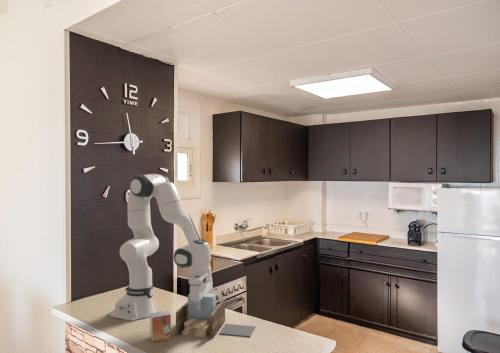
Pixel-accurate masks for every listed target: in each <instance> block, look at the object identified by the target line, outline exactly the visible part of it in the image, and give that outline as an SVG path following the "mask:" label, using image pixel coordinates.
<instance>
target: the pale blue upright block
mask: <svg viewBox="0 0 500 353" xmlns="http://www.w3.org/2000/svg"><path fill="white" fill-rule="evenodd" d="M187 301H188V319H190V318H193V319H199V320H205V321H208V323H210V315H211V313H212V312H213V311H214V310H215V309H216V306H217V293H210V292H209V293H207V294H206V295H205V296H204V297H203V298H202V299H201V302H200V304H201V309H200V310H197V306H196V303H195V302H191V299H190V293H189V294H188V295H187Z"/></svg>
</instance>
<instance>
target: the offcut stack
mask: <svg viewBox="0 0 500 353" xmlns="http://www.w3.org/2000/svg"><path fill="white" fill-rule="evenodd" d="M184 326H185V329H184V330H183V331H182V335H183V336H191V337H199V338H207V336H209V335H210V334H211V329H210V323H208V321H205V320H199V319H193V318H190V319H188V320H187V321H185V322H184Z"/></svg>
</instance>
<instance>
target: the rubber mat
mask: <svg viewBox="0 0 500 353" xmlns="http://www.w3.org/2000/svg"><path fill="white" fill-rule="evenodd" d="M255 328H256V326H255V325H246V324H245V325H244V324H243V325H242V324H233V323H231V324H230V323H224V324H223V326H222V327H221V330H219V332H218V335H223V336H234V337H244V338H251V336H252V334H253V332H254V330H255Z"/></svg>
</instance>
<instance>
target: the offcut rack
mask: <svg viewBox="0 0 500 353" xmlns="http://www.w3.org/2000/svg"><path fill="white" fill-rule="evenodd" d="M187 320H188V300H187V301H186V302H185V303H184V304H183V305H182V306H181V307H179V309H177V310H176V312H175V335H176V336H179V335H180V334H182V333H183V330H184V329H185V326H184V322H185V321H187ZM225 322H226V300H224V299H223V300H221V302H219V304H218V305H216V309H215V310H214V311H213V312H212V313H211V315H210V329H211V332H210V339H214V338H215V336H216V335H217V334H218V333H219V332H220V329H222V327H223V326H224V325H225Z"/></svg>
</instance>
